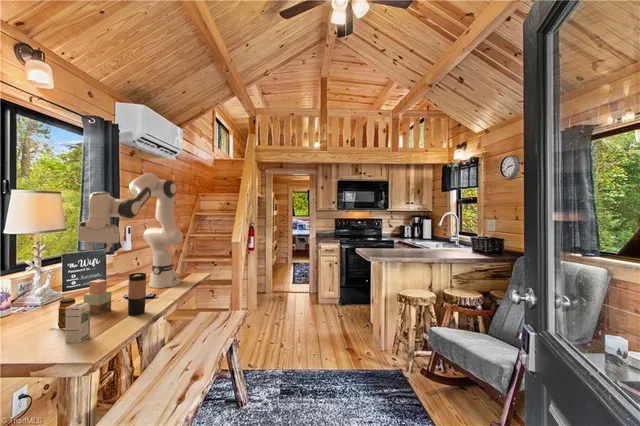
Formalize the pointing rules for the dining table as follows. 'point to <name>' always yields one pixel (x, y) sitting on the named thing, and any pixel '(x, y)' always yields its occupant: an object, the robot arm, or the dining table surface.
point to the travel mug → (136, 294)
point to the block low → (100, 308)
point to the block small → (97, 286)
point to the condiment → (64, 311)
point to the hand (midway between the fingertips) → (98, 251)
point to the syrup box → (77, 322)
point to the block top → (97, 298)
